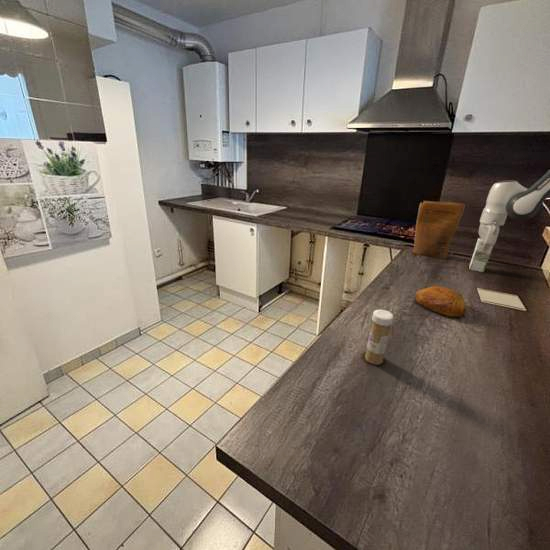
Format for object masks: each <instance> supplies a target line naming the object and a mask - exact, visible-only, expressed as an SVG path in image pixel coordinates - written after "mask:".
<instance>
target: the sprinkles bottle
mask: <svg viewBox="0 0 550 550" xmlns="http://www.w3.org/2000/svg"><path fill="white" fill-rule="evenodd" d="M371 319H372V322H371V327H370V331H369V334H368V335H369V336H368V340H367V345H366V351H365V354H364V359H365V360H366V361H367V362H368V363H369V364H372V365H377V366H378V365H381V364H383V363H384V357H385V353H386V350H387V344H388V341H389V337H390V331H391V327H392V325H393V322H394V315H393V314H392V312H390V311H388V310H385V309H375V310H374V311H373V313H372V317H371Z"/></svg>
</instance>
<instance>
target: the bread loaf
mask: <svg viewBox="0 0 550 550" xmlns="http://www.w3.org/2000/svg"><path fill="white" fill-rule="evenodd" d="M462 297H463V296H462V294H460V293H459V292H457V291H456V290H453V289H450V288H447V287H445V286H444V287H443V286H439V285H431V286H429V287H427V288H423V289H420V290H418V291H416V292H415V300H416V302H417V304H419V305H420V306H422V307H424V308H425V309H428V310H431V311H433V312H436V313H438V314H441V315H444V316H447V317H457V318H460V317H462V316H463V315H464V314H465V312H466V311H467V306H466V302H465V301H464V298H462Z"/></svg>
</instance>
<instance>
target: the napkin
mask: <svg viewBox="0 0 550 550" xmlns="http://www.w3.org/2000/svg"><path fill="white" fill-rule="evenodd" d="M476 290H477V293H478V296H479V299H480V301H481V303H485V304H490V305H494V306H500V307H504V308H510V309H514V310H519V311H523V312H527V309H526V307H525V305H524V304H523V302H522V301H521V299H520V297H519V296H518V295H517V294H513V293H512V294H511V293H505V292H501V291H495V290H490V289H486V288H479V287H477V288H476Z"/></svg>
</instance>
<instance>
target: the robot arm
mask: <svg viewBox="0 0 550 550" xmlns="http://www.w3.org/2000/svg"><path fill="white" fill-rule="evenodd" d="M548 197H550V169H549V170H548V171H547V172H545V173H544V175H542V177H540V178H539V179H538V180H537V181H536V182H535V183H533V184H532V186H530V187H529V188H526V187H525V186H523V185H522V184H520V183H519V182H518V181H517V180H514V179H511V180H509V179H508V180H507V179H506V180H498V181H497V182H495V183H494V184H492V186H491V188H490V190H489V192H488V194H487V198H486V201H485V206H484V208H483V209H482V212H481V215H480V218H479V227H478V236H479V238H481V239H482V241H483V242H484V246H483V248H482V253H487V251H488V249H489V247H490V245H492V246H493V247H494V246H495V245H496V243H497V240H498V237H499V233H500V227H501V226H504V225H505V223H506V220H507V216H509V217H510V218H511V219H513V220H517V221H525V220H529V219H531V218H533V217H535V216H536V215H537V214H538V213H539V212H540V210H541V208H542V206H543V204H544V202H545V201H546V200H547V199H548Z"/></svg>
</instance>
